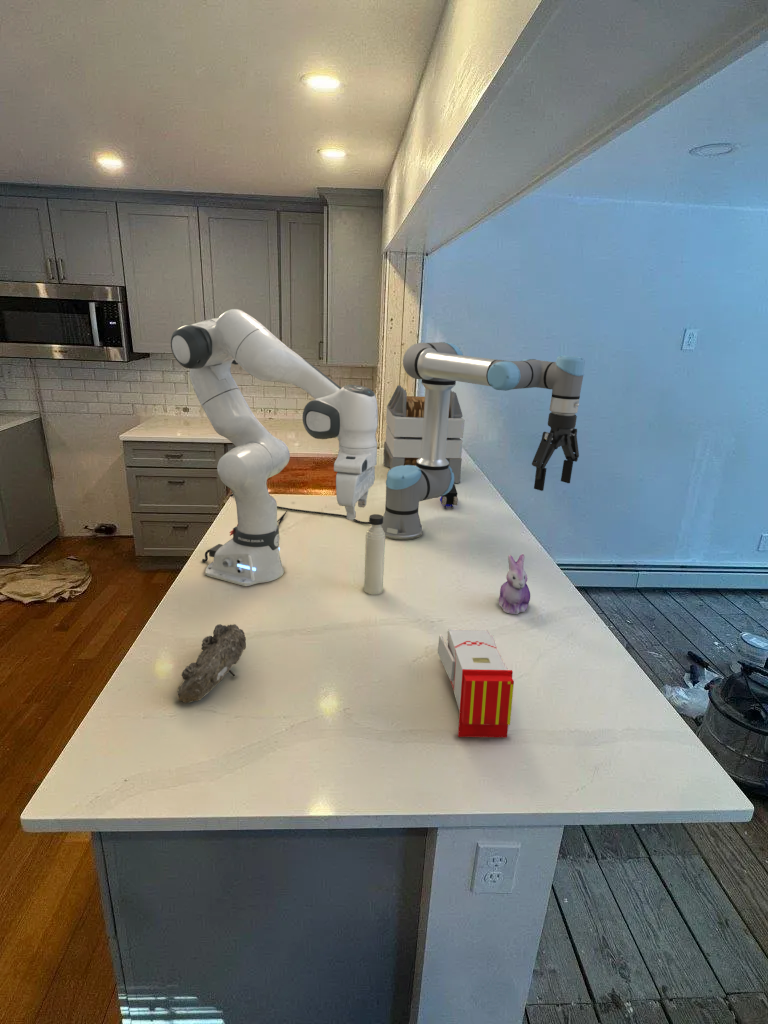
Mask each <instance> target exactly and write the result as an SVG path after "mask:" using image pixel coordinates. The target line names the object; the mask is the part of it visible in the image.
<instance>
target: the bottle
mask: <svg viewBox="0 0 768 1024" xmlns="http://www.w3.org/2000/svg"><path fill="white" fill-rule="evenodd" d="M364 547H365V549H364V551H365V552H364V572H363V573H364V575H363V576H364V577H363V580H364V581H363V591H364V592H365V593H366V594H369V595H373V596H374V595H380V594H382V593H383V590H384V575H385V573H384V571H385V552H386V551H385V550H386V537H385V533H384V531H383V528H382V526H381V525H372V524H370V526H369V527H368V530H367V531H366V533H365V546H364Z"/></svg>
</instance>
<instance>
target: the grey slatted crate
mask: <svg viewBox="0 0 768 1024" xmlns="http://www.w3.org/2000/svg"><path fill="white" fill-rule="evenodd" d="M407 394H408V393H407V390H406V389H404V388H403V387H402V385H399V384H398V385H397V386H396V388H395V390H394V392H393V394H392V395H391V398H390V400H389V402H388V404H387V405H386V413H385V414H386V415H385V423H386V428H385V438H384V442H383V466H384V467H388V468H389V470H390V469H392V468H394V467H396V466H401V465H404V466H405V465H413V466H416V461H417V459H418V458H420V457H421V449H422V434H423V419H424V404H425V396H415V395H414V396H413V395H412V396H411V395H407ZM464 429H465V419H464V418H463V411H462V408H461V405H460V402H459V398H458V395H457V392H455V391H453V390H451V392H450V404H449V416H448V428H447V441H446V453H445V458H446V459H447V461H448V462H449V466H450V467H451V469H452V473H454V484H455V483H456V484H459V483H461V472H462V461H463V460H462V453H463V442H464V441H463V440H462V439H463V438H464V431H465V430H464Z"/></svg>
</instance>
